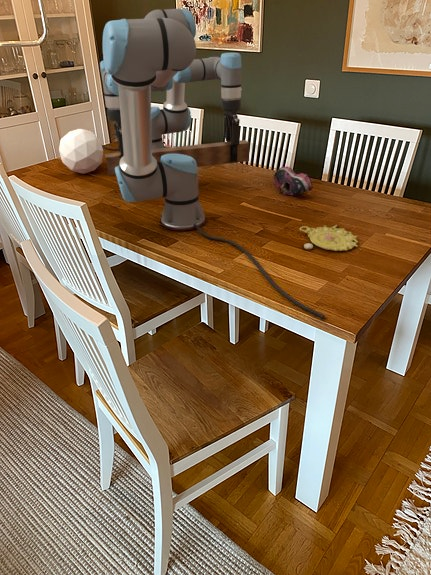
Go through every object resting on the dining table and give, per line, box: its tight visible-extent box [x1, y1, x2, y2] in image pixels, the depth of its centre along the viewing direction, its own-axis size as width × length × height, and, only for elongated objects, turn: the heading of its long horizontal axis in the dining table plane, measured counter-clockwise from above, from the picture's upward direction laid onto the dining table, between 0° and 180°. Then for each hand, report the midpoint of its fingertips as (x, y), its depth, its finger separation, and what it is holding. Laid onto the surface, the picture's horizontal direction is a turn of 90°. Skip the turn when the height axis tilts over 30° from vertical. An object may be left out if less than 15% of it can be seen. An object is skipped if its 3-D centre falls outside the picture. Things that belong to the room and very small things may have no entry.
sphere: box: [58, 128, 104, 175], centre depth 202 cm, size 19×20×20 cm
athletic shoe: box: [270, 166, 314, 197], centre depth 175 cm, size 11×22×12 cm
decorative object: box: [299, 224, 359, 252], centre depth 141 cm, size 21×2×20 cm
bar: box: [104, 139, 250, 177], centre depth 175 cm, size 56×5×7 cm, turn 105°
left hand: (231, 159), depth 181 cm, fingers closed on bar, 5 cm apart
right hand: (125, 171), depth 172 cm, fingers closed on bar, 5 cm apart
